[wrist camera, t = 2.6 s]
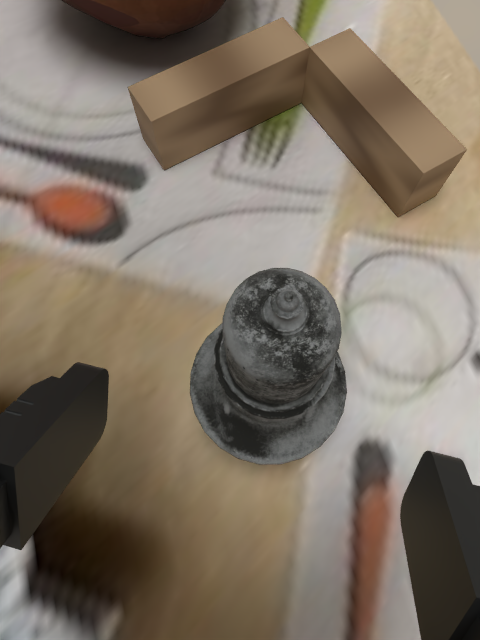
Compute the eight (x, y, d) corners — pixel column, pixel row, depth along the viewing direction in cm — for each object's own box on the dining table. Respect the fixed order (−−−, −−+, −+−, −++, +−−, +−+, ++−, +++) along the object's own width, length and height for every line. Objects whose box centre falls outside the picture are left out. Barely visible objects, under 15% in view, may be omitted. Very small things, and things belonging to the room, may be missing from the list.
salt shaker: (315, 328, 21) (398, 154, 10) (342, 456, 19) (484, 427, 8) (192, 344, 21) (129, 187, 9) (206, 476, 19) (148, 475, 8)
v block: (432, 223, 23) (464, 181, 19) (133, 164, 24) (115, 115, 21) (446, 104, 25) (476, 48, 22) (175, 56, 27) (166, -2, 24)
